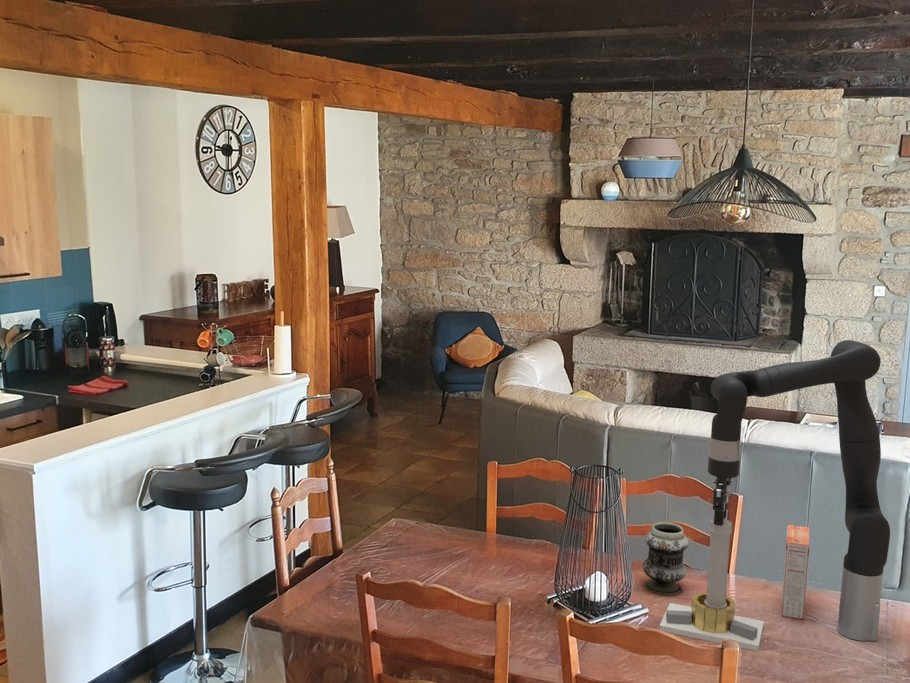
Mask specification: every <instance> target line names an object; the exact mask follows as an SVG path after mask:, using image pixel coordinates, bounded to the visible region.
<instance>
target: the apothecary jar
mask: <svg viewBox="0 0 910 683" xmlns="http://www.w3.org/2000/svg"><path fill="white" fill-rule="evenodd" d="M644 541H645V544H646V545H647V546H648V555H647V558H646V559H645V560H644V562H643V564H642V570H643V572H644V573H645V575H646V576H647V577H649V579H650V580H648V581H647V582H645V588H646V590H648V591H649V592H652V593H654V594H657V595H661V596H676V595H678V594H680V592H681V591H682V587H681V585H680V584H679V583H677V582H680V581H682V580H683V579H684V578H685V577H686V576H687V572H688V571H687V567H686V565H685V564H684V551H685V550H686V549H688V547H689V539H688V537H687V536H686V535H685V534H684V528H683V527H682V526H680V525H679V524H677V523H674V522H667V521H659V522H656V523H654V524H652V526H651V530H650V531H648V532H647V533H646V535H645V538H644Z"/></svg>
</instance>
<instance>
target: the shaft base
mask: <svg viewBox="0 0 910 683" xmlns="http://www.w3.org/2000/svg"><path fill="white" fill-rule="evenodd" d="M691 609H692V606H688V605H682V604H678V603H673V602H672V603H671V602H669V605H668V606H667V609H666V611H665V613H664V615H663V618H662V619H661V622H660V624H659V629H660V630H663V631H666V632H665V633H668V634H673V635H678V636H682V637H689V638H692V639H697V640H702V641H707V642H710V643H711V642H712V643H716V644H720V643H721V642H722V641H723V640H724V639H732V640H735V641H737V642H738V643H739V646H740V647H739V648H741V649H746V650H749V651H755V652H759V649H760V644H761V640H762V635H763V631H764V627H765V625H764V624H765V620H761V619H760V620H759V619H755V618H748V617H744V616H741V615H740V616H739V615H735V618H734V621H733V622H732V623H731V625H730V631H729V632H726V633H711V632H706V631H703V630H701V629H699V628H697V627H695V626H694V625H693V624H692V623H691V622H692V615H691ZM663 631H662V632H663Z"/></svg>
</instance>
